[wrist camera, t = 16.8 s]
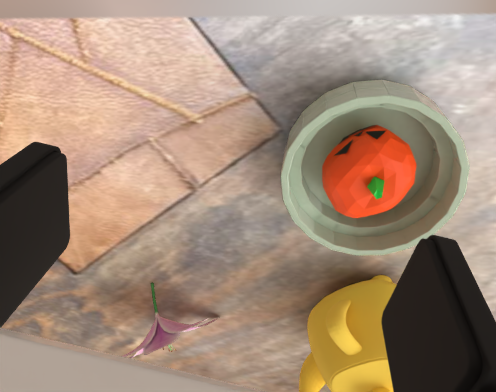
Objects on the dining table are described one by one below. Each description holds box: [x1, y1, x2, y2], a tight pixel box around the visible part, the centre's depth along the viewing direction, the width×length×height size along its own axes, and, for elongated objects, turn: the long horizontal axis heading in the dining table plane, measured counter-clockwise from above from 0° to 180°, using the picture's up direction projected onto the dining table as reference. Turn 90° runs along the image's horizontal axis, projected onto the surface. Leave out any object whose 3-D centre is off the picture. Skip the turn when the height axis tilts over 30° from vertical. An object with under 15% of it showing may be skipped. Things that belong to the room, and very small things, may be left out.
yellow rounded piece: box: [299, 275, 396, 392], centre depth 42 cm, size 14×14×12 cm
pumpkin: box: [322, 125, 417, 218], centre depth 34 cm, size 7×8×6 cm
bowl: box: [281, 80, 470, 256], centre depth 35 cm, size 14×14×5 cm
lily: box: [122, 283, 220, 359], centre depth 47 cm, size 12×12×10 cm
